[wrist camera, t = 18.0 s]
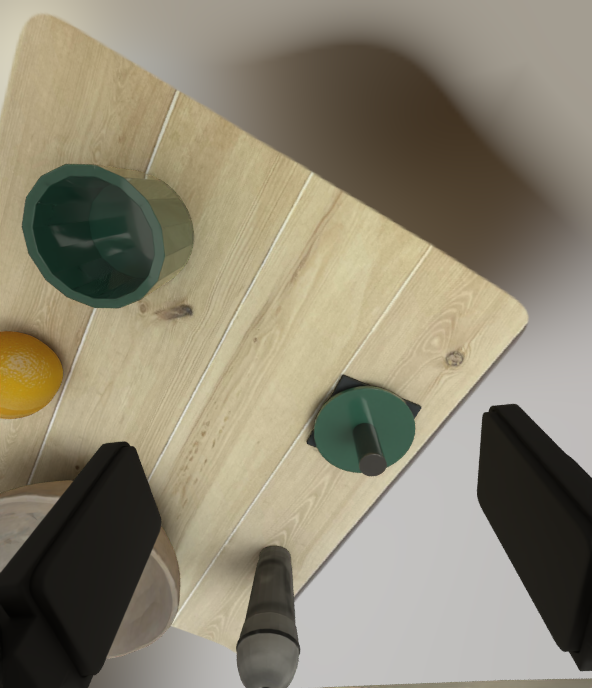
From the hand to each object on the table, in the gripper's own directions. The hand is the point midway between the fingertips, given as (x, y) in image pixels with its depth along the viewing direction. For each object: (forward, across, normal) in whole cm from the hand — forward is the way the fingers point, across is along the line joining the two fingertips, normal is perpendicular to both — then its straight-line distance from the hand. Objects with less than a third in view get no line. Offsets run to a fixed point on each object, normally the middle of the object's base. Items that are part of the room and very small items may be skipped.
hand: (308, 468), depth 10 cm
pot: (+29, +16, -5) cm, 34 cm away
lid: (+28, -4, +20) cm, 35 cm away
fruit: (+29, +31, +7) cm, 43 cm away
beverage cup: (+29, +9, +40) cm, 51 cm away
